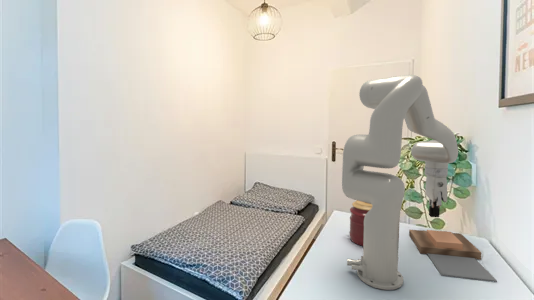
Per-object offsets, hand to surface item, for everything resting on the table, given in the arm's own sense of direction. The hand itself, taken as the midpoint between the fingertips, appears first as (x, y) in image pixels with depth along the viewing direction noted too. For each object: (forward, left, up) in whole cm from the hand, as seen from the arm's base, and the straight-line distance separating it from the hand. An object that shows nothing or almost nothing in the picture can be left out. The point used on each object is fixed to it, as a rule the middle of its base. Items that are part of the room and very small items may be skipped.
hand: (434, 216), depth 105 cm
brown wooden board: (0, -10, -8) cm, 13 cm away
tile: (0, -11, -5) cm, 13 cm away
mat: (0, -24, -8) cm, 25 cm away
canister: (-26, -10, -8) cm, 29 cm away
